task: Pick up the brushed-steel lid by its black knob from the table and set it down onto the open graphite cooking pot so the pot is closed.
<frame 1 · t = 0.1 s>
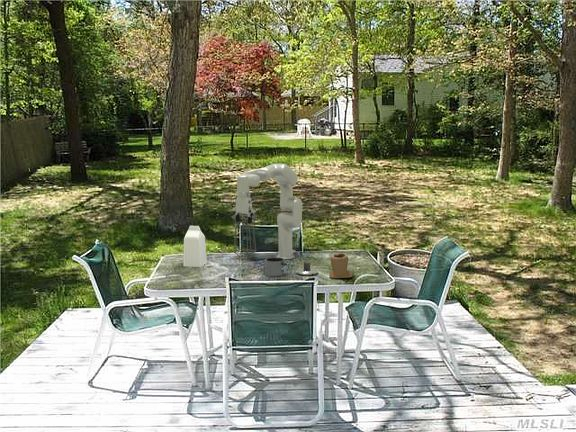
hand: (243, 222, 346), 31 cm above the table, tool pointing down, fingers open, 9 cm apart
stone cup: (341, 278, 333), on the table
geometric lantern: (245, 258, 386), on the table
pot: (274, 273, 343), on the table
lid: (306, 273, 344), on the table
milk: (195, 264, 368), on the table
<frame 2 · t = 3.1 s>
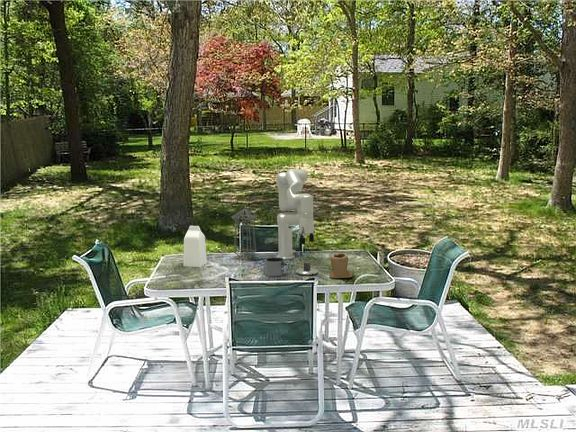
hand: (307, 242, 340), 19 cm above the table, tool pointing down, fingers open, 9 cm apart
nothing on the table moved.
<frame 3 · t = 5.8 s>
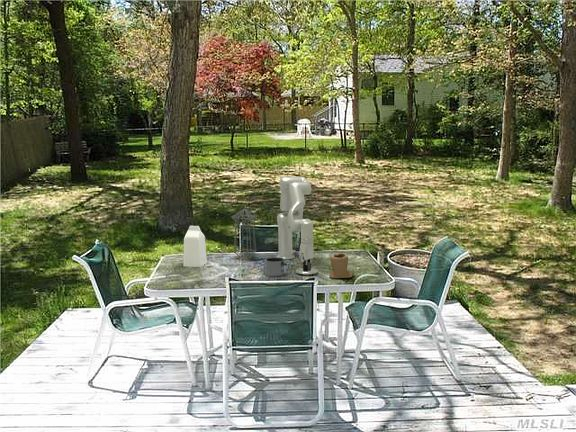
hand: (307, 269, 343), 2 cm above the table, tool pointing down, fingers closed on lid, 3 cm apart
lid: (307, 273, 344), on the table, touching gripper
everything else where it was.
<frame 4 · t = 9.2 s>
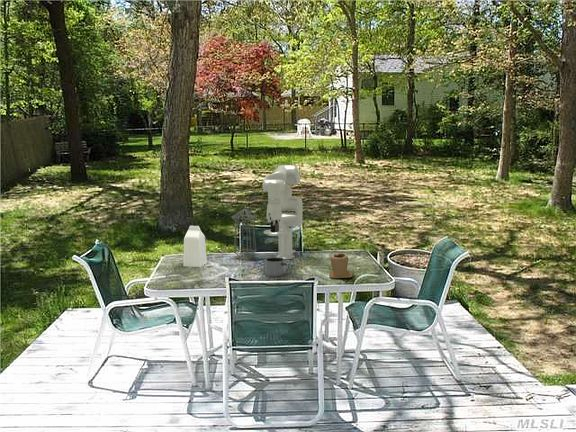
hand: (274, 230, 339), 27 cm above the table, tool pointing down, fingers closed on lid, 3 cm apart
lid: (274, 234, 339), point 25 cm above the table, touching gripper
everything else where it was.
when the fingers open (12 cm above the table, at t = 12.7 s): lid drops 2 cm, resting on pot.
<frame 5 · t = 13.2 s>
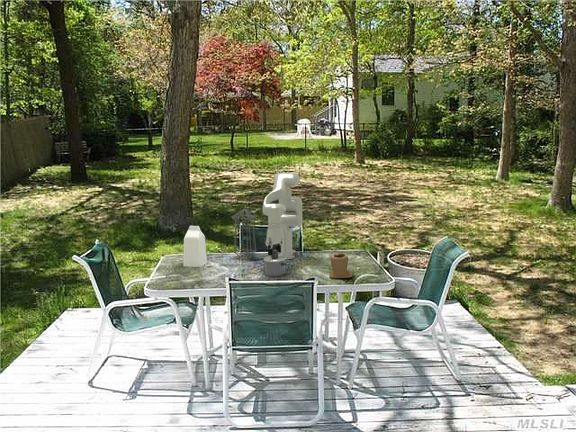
hand: (274, 253, 341), 13 cm above the table, tool pointing down, fingers open, 8 cm apart
lid: (274, 261, 342), point 8 cm above the table, touching pot
everything else where it was.
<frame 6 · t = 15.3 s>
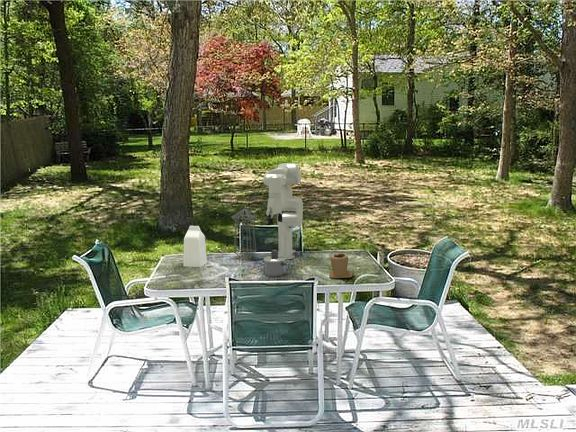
hand: (275, 223, 344), 31 cm above the table, tool pointing down, fingers open, 9 cm apart
nothing on the table moved.
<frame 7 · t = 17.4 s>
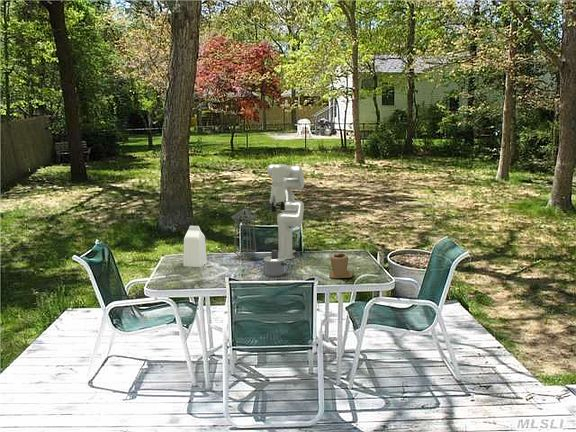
hand: (278, 211, 358), 36 cm above the table, tool pointing down, fingers open, 9 cm apart
nothing on the table moved.
at the end: lid 0.2 cm off-centre on the pot, point 7.8 cm above the pot's base; lid tilted 0°; the gripper is holding nothing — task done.
